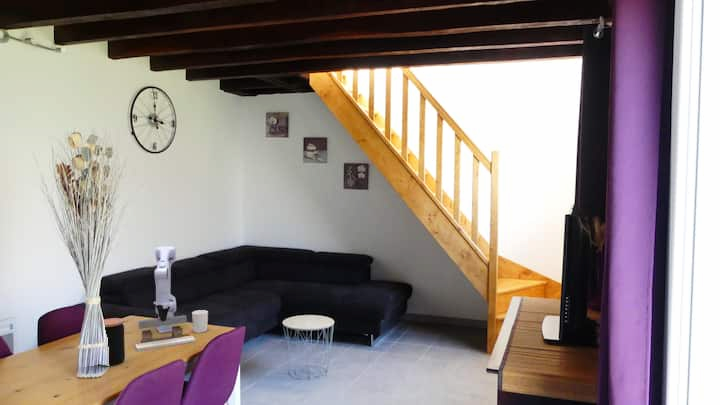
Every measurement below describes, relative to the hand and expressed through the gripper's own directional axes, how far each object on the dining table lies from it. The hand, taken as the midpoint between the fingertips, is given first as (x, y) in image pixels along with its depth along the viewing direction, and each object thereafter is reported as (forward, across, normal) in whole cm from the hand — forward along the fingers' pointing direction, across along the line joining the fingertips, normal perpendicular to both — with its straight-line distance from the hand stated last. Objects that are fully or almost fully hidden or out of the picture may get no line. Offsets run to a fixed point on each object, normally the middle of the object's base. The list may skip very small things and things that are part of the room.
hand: (162, 320), depth 257 cm
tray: (+10, +6, 0) cm, 12 cm away
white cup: (+11, -9, +20) cm, 24 cm away
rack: (+10, -2, 0) cm, 11 cm away
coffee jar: (+11, +19, -25) cm, 33 cm away
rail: (+2, 0, 0) cm, 2 cm away
